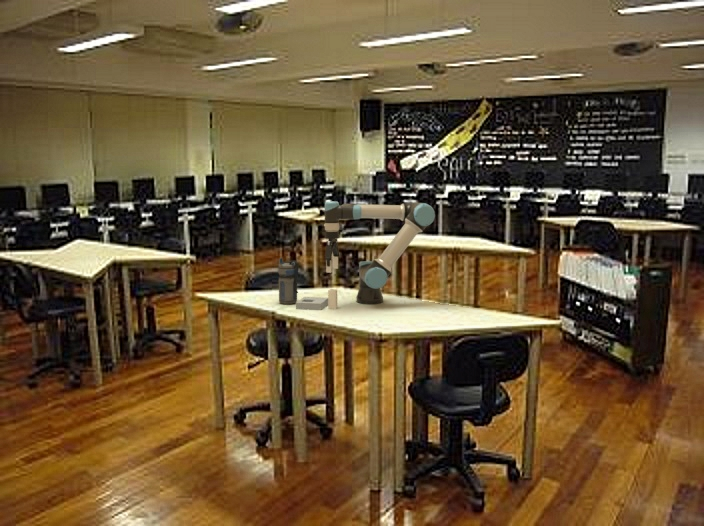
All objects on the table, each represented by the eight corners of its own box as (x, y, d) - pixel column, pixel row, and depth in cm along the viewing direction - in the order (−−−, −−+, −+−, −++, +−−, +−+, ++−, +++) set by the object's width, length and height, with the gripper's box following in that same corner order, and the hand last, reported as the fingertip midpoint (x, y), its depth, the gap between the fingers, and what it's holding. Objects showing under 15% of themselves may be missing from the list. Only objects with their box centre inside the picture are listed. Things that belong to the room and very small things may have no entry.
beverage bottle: (293, 306, 341) (292, 260, 337) (274, 303, 348) (273, 259, 344) (304, 302, 349) (303, 258, 346) (285, 300, 356) (284, 257, 353)
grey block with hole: (328, 303, 346) (328, 297, 345) (320, 310, 330) (320, 303, 330) (304, 302, 349) (304, 296, 348) (295, 308, 333) (295, 302, 333)
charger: (337, 307, 337) (337, 289, 335) (335, 309, 333) (335, 290, 331) (330, 307, 337) (330, 288, 336) (328, 308, 334) (328, 290, 332)
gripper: (331, 228, 342) (331, 266, 345) (318, 233, 318) (319, 273, 321) (344, 228, 340) (344, 267, 343) (332, 233, 316) (333, 274, 319)
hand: (332, 270), depth 332 cm, fingers open, 13 cm apart
